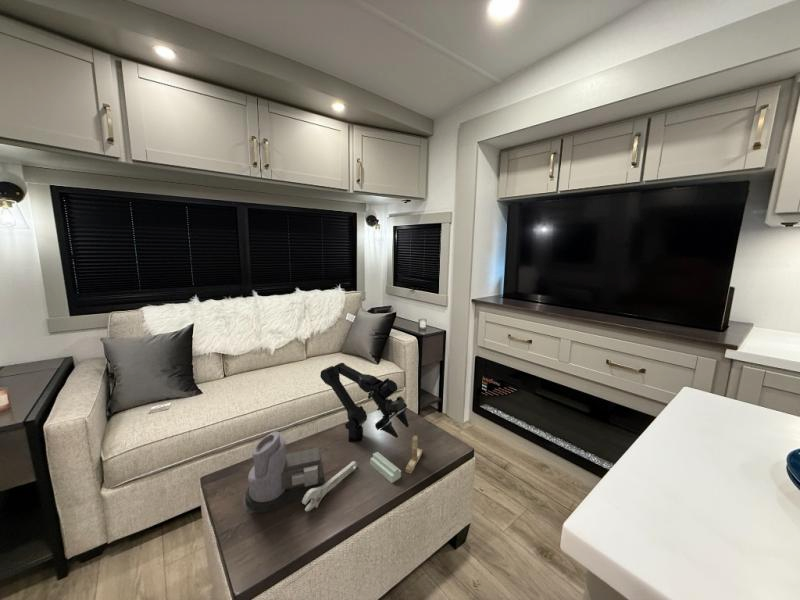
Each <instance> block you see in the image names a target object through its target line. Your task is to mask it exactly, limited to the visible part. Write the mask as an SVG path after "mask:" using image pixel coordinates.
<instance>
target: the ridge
mask: <svg viewBox="0 0 800 600" xmlns="http://www.w3.org/2000/svg"><path fill="white" fill-rule="evenodd" d="M369 461H370V463H369V464H370V466H371V467H373V469H375V470H376V471H377V472H378V473H380V474H381V476H383V477H384V478H385V479H386V480H387V481H389V483H391V484H393V483H394V482H395V481H398V480H399V479H401V477H402V470H401V469H400V468H399V467H397V466H396V465H395V464H394V463H393V462H391V461H390V460H388V459H387V458H386V457H384V456H383V455H382V454H381V453H379V452H378V451H376V452H374V453H372V457H371V458H370V459H369Z"/></svg>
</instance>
